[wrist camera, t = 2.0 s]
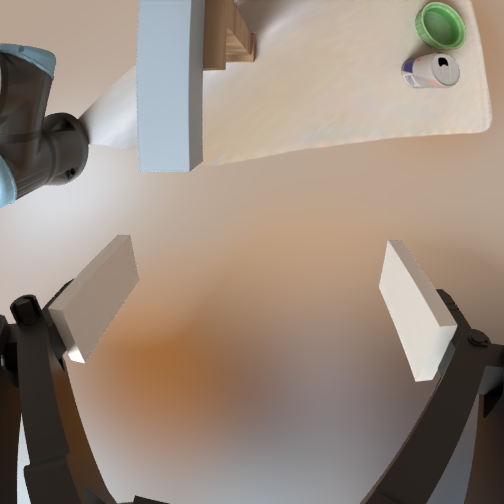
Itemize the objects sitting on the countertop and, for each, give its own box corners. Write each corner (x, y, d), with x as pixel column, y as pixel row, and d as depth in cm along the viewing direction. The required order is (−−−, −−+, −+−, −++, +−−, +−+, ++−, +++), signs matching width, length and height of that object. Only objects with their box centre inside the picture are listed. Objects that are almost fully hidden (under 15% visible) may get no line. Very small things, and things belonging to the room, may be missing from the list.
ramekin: (458, 53, 39) (470, 51, 35) (417, 50, 40) (427, 47, 37) (449, 10, 35) (460, 5, 31) (407, 5, 37) (416, -2, 33)
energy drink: (423, 58, 41) (455, 51, 30) (430, 86, 43) (464, 86, 32) (397, 60, 42) (425, 52, 31) (404, 89, 44) (434, 89, 34)
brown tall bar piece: (211, 84, 48) (140, 73, 23) (212, 35, 43) (145, -16, 19) (253, 84, 47) (221, 67, 22) (254, 34, 43) (224, -27, 18)
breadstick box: (158, 161, 26) (139, 172, 23) (162, -28, 18) (144, -43, 14) (202, 161, 26) (189, 171, 22) (207, -34, 18) (195, -52, 14)
